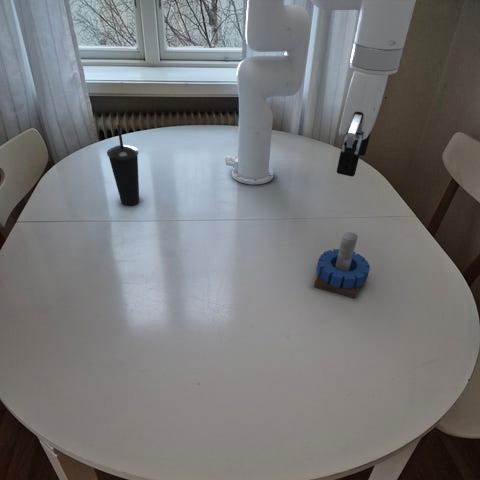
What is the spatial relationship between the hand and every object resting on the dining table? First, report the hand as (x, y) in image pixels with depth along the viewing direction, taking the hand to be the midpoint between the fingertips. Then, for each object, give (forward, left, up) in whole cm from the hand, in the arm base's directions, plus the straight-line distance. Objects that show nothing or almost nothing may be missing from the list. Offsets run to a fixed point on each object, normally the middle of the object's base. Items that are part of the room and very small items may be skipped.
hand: (351, 163), depth 79 cm
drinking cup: (-57, +8, -25) cm, 63 cm away
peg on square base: (+3, -2, -25) cm, 25 cm away
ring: (+3, -1, -24) cm, 24 cm away
